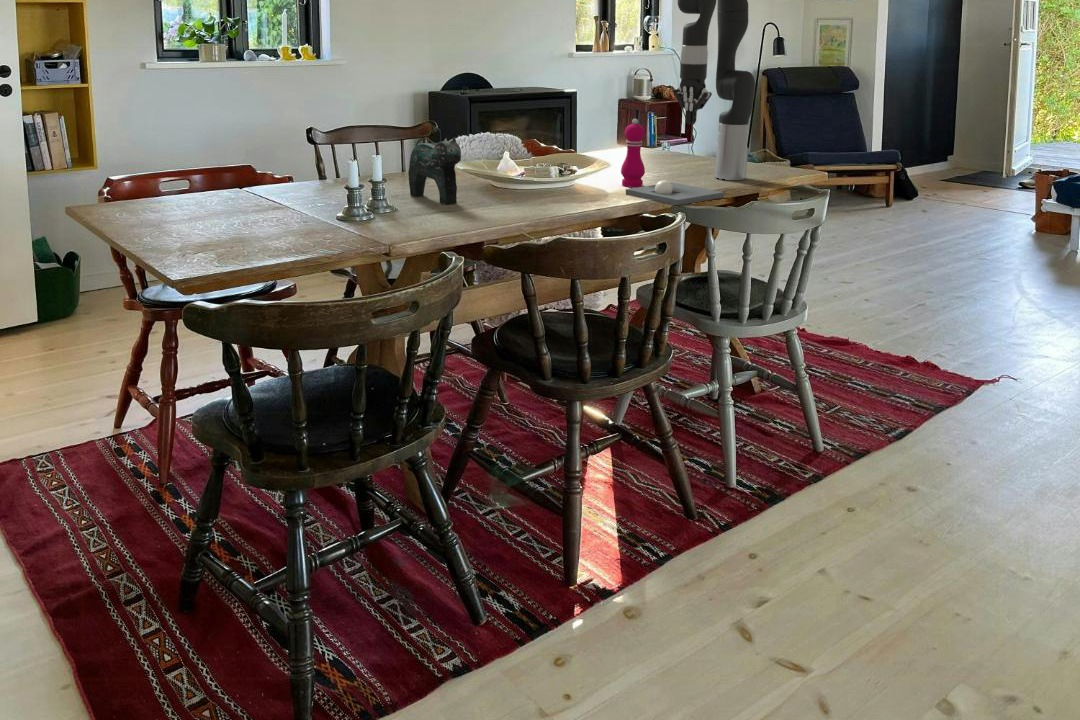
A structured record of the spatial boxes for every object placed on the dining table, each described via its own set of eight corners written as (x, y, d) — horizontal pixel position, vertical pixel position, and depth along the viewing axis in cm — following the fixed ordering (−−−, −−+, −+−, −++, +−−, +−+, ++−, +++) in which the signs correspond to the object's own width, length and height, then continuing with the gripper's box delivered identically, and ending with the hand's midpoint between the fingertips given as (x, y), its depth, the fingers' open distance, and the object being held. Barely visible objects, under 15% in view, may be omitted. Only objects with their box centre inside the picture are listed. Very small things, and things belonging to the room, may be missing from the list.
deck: (672, 187, 320) (672, 182, 320) (723, 197, 306) (724, 192, 306) (625, 194, 308) (625, 189, 307) (677, 205, 294) (677, 199, 293)
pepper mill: (642, 188, 318) (646, 120, 311) (618, 187, 319) (621, 119, 312) (645, 184, 324) (648, 117, 318) (621, 183, 326) (624, 116, 319)
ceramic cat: (463, 204, 290) (463, 130, 283) (444, 207, 286) (443, 131, 279) (421, 193, 304) (420, 122, 297) (402, 195, 300) (400, 124, 293)
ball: (649, 185, 302) (653, 199, 306) (662, 188, 299) (666, 202, 302) (660, 175, 304) (664, 189, 307) (673, 178, 301) (677, 192, 304)
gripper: (720, 62, 298) (716, 125, 304) (685, 59, 307) (681, 120, 313) (703, 64, 293) (699, 127, 299) (667, 61, 302) (664, 122, 308)
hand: (690, 123), depth 306 cm, fingers closed
